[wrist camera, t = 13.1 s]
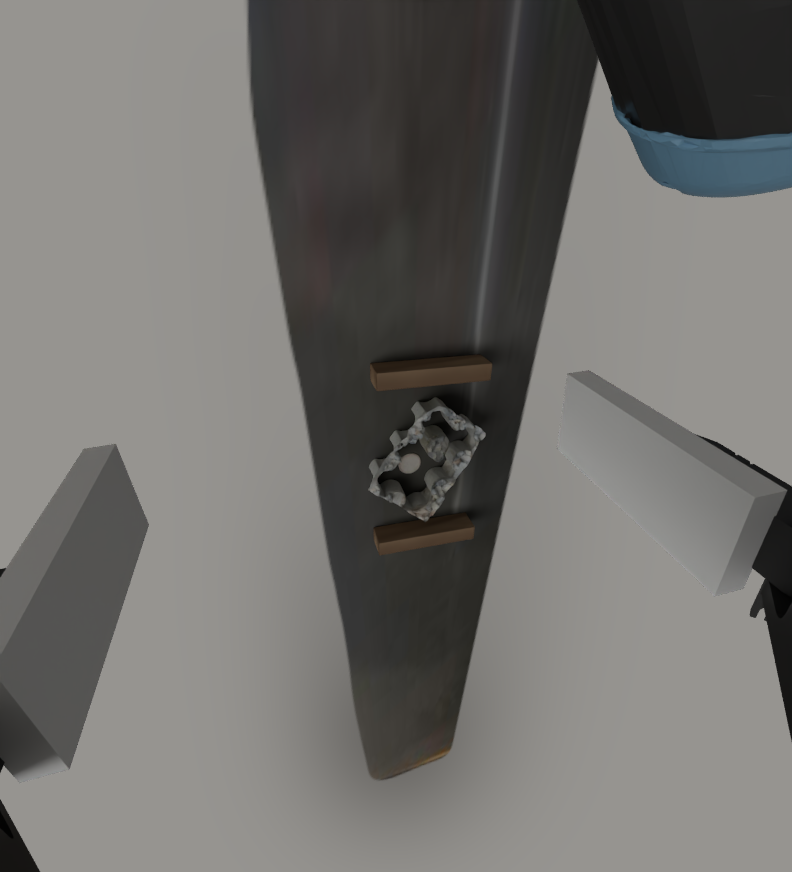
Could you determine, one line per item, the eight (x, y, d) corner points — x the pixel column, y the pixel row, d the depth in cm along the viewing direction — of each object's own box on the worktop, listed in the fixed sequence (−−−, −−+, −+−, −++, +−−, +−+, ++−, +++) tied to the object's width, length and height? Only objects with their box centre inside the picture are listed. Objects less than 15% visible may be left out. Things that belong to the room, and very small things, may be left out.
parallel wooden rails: (370, 363, 40) (376, 373, 37) (480, 354, 42) (492, 363, 40) (373, 539, 49) (379, 555, 46) (464, 523, 51) (473, 538, 49)
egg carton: (411, 503, 48) (424, 528, 45) (354, 471, 44) (363, 496, 41) (480, 424, 46) (499, 444, 42) (426, 384, 42) (442, 402, 39)
